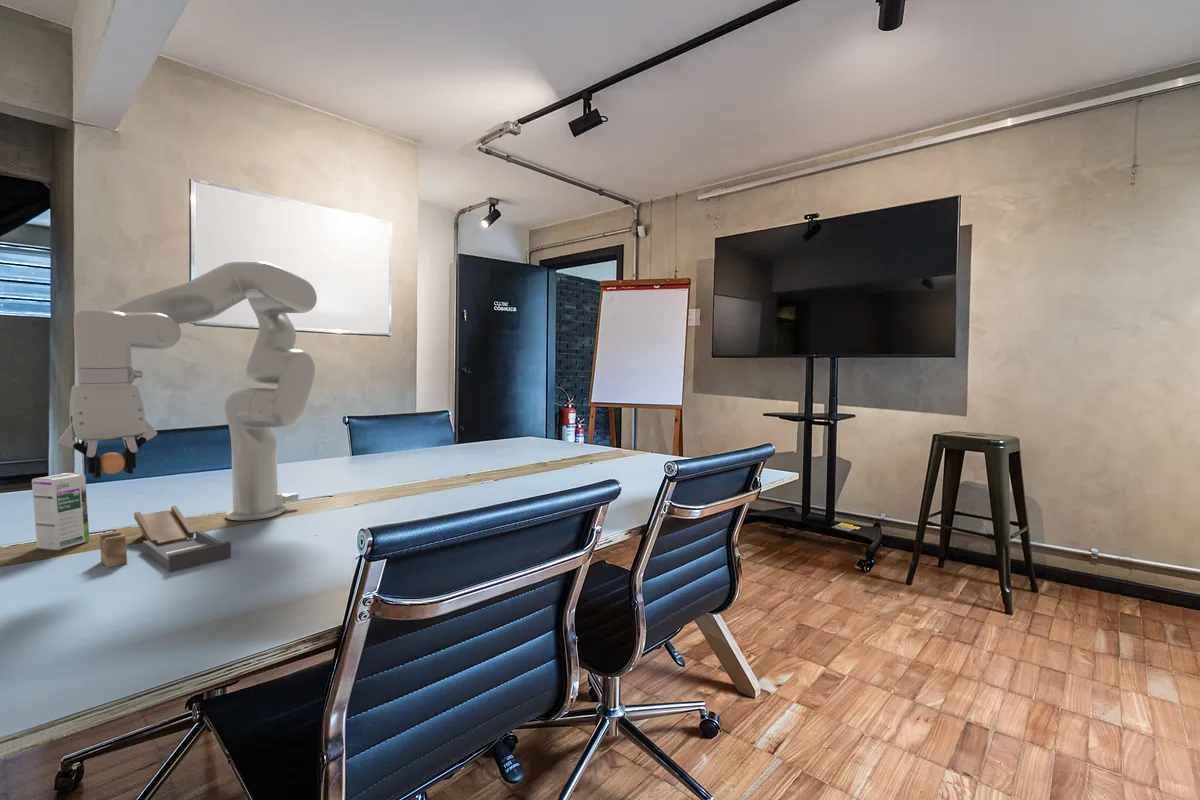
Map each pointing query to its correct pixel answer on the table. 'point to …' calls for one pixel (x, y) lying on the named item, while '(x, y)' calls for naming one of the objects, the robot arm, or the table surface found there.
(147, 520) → the ramp
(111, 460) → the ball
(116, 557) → the wooden upright block
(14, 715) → the table surface
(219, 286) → the robot arm
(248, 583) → the table surface
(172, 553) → the lane
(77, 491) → the syrup box
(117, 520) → the table surface
